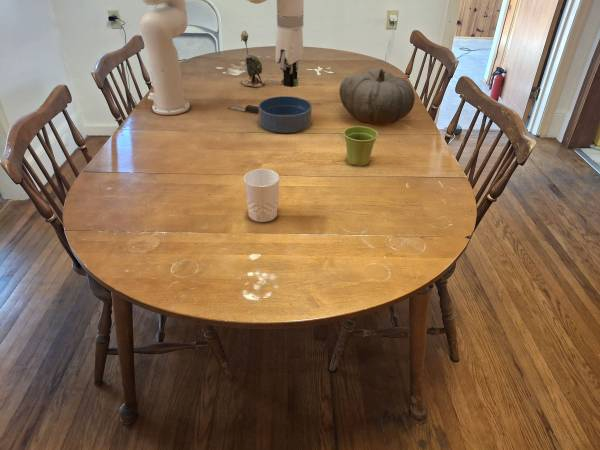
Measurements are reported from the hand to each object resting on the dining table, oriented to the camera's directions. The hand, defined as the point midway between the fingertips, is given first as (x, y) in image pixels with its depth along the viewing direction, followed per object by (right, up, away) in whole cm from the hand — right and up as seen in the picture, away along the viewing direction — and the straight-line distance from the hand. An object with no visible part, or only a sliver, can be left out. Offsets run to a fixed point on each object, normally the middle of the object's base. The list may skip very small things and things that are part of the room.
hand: (290, 84), depth 142 cm
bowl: (-2, -10, +10) cm, 14 cm away
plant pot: (+19, -25, -11) cm, 34 cm away
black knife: (-16, -3, +18) cm, 25 cm away
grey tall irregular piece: (-15, +12, +39) cm, 44 cm away
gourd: (+28, -7, +15) cm, 33 cm away
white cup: (-6, -41, -33) cm, 53 cm away
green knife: (-3, +1, +1) cm, 3 cm away
